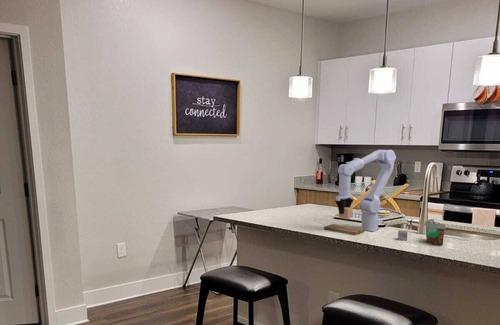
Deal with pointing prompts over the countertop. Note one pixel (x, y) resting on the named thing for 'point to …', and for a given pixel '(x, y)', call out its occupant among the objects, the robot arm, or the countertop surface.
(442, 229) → the food container
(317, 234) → the countertop surface
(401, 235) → the grey block
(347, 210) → the cube
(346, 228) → the board
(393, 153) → the robot arm
